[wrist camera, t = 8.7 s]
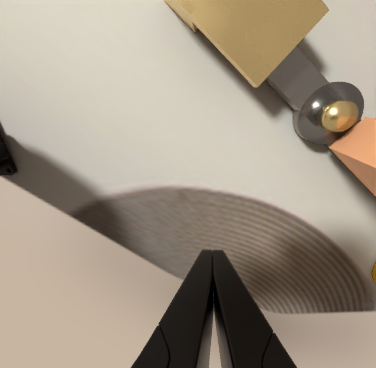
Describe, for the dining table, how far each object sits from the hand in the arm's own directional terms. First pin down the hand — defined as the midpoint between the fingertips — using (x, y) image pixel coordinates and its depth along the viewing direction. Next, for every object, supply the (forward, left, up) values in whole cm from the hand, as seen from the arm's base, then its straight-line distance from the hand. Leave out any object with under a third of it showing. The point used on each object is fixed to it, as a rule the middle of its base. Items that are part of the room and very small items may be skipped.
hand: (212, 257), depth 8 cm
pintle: (+9, +4, -10) cm, 14 cm away
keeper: (+2, +11, -12) cm, 16 cm away
